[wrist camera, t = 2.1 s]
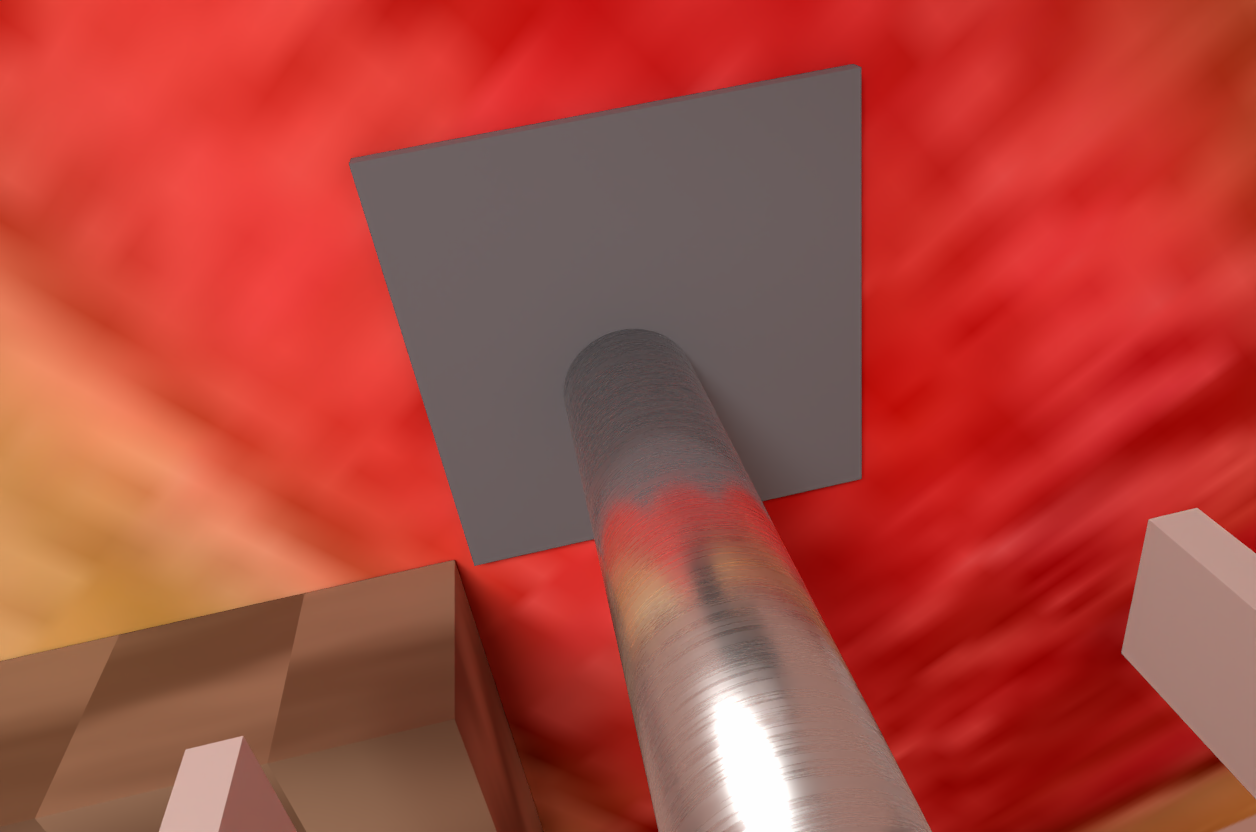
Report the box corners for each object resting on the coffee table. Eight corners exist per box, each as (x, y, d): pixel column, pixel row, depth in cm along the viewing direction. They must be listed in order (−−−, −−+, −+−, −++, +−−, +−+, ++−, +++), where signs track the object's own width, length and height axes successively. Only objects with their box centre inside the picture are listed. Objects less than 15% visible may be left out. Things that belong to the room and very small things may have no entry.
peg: (551, 344, 19) (667, 867, 9) (686, 316, 19) (957, 795, 9) (575, 457, 20) (698, 1013, 10) (700, 430, 20) (941, 948, 10)
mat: (350, 158, 16) (349, 163, 16) (853, 63, 17) (861, 66, 17) (474, 555, 22) (474, 565, 21) (855, 470, 22) (861, 478, 22)
